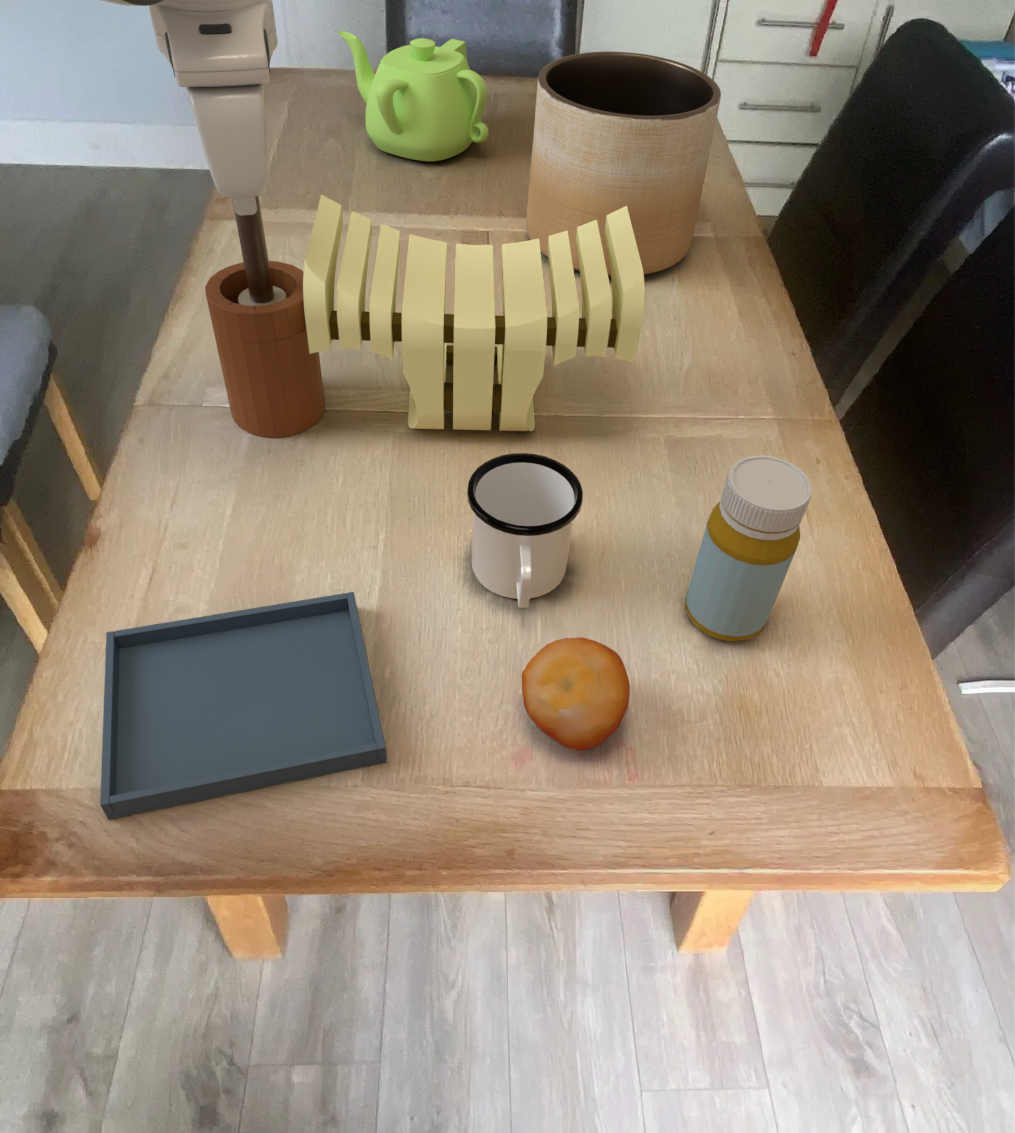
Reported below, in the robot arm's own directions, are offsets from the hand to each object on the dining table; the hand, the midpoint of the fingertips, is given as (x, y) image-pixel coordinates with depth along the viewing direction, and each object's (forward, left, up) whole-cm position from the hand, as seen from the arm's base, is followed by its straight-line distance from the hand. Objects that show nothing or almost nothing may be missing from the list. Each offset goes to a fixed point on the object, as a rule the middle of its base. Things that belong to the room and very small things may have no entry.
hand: (244, 201), depth 77 cm
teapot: (+27, +64, -22) cm, 73 cm away
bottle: (+34, -36, -22) cm, 54 cm away
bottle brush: (0, 0, -14) cm, 14 cm away
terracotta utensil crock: (0, 0, -22) cm, 22 cm away
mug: (+18, -28, -22) cm, 40 cm away
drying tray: (-6, -36, -22) cm, 43 cm away
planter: (+46, +28, -22) cm, 58 cm away
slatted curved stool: (+20, -2, -22) cm, 30 cm away
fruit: (+18, -43, -22) cm, 52 cm away
